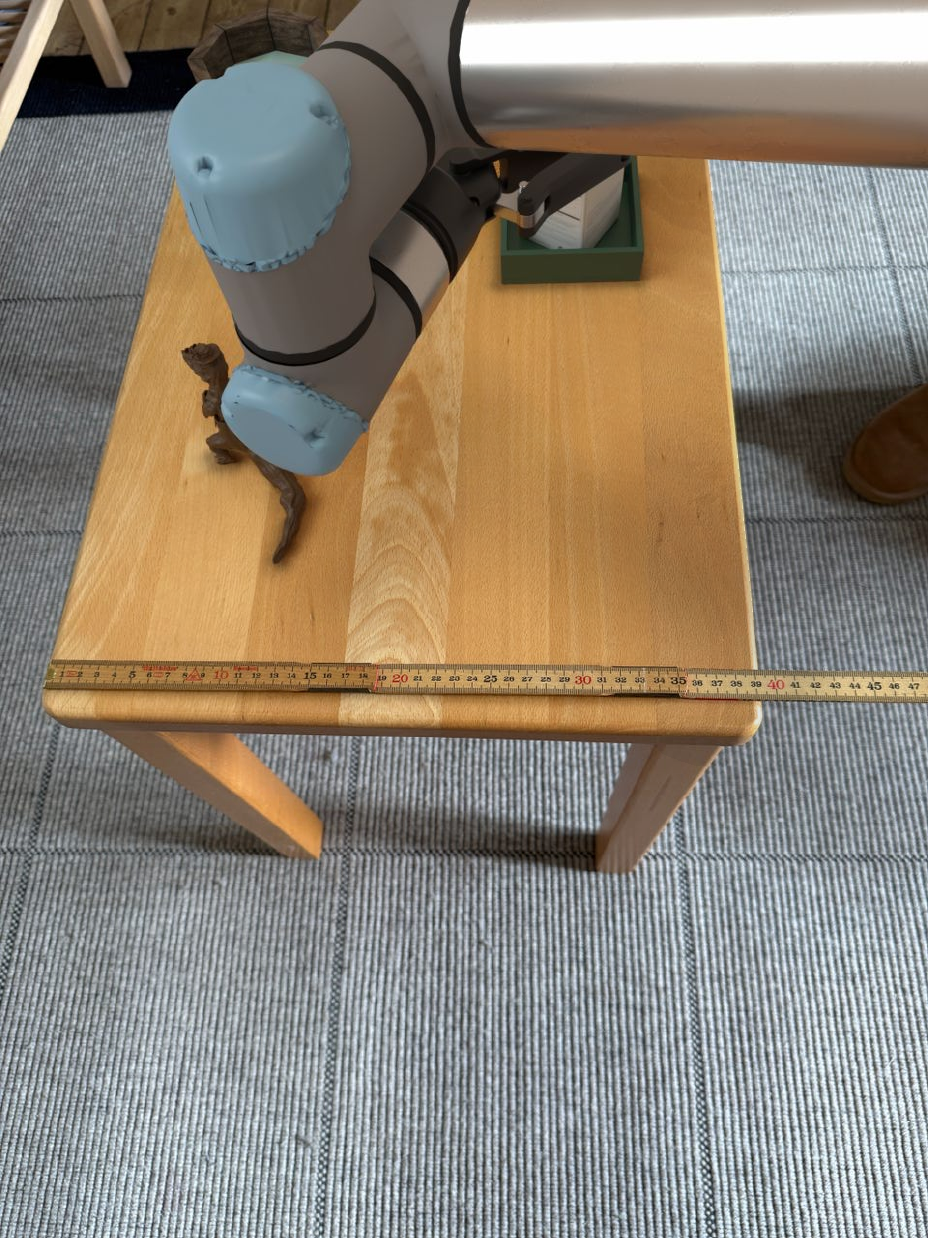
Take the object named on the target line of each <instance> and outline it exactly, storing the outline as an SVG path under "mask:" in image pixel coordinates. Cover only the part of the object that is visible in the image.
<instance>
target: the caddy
mask: <svg viewBox="0 0 928 1238" xmlns="http://www.w3.org/2000/svg"><path fill="white" fill-rule="evenodd" d="M518 189H519V188H518ZM640 190H641V189H640V177H639V164H638V156H632V158H631V162H630V163H629V164H628V165H627V166H625V167H624V175H623V183H622V192H621V202H620V210H619V217H618V219H617V220H616V221H615V222H614V223H613V225H612V226H611V227H610V228H609V230H608V231H607V232H606V233H605V235H604V236H603V237H602V238H601V240H600V241H599V242H598V243H597V244H596V246H595V247H594V248H579V249H549V248H546V247H544V246H542V245H540V244H537V243H535V242H533V241H531V240H529V239H527V238H523V237H521V236H519V234H518V231H517V223H514V222H512V221H509V220H506V219H504V218H501V217H500V283H501V285H519V284H521V285H525V284H526V285H527V284H557V283H558V284H563V283H564V284H565V283H601V282H602V283H603V282H637V281H641V274H642V267H643V263H644V256H645V255H644V254H645V243H644V232H643V231H644V229H643V228H644V227H643V217H642V215H643V214H642V204H641V191H640Z"/></svg>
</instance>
